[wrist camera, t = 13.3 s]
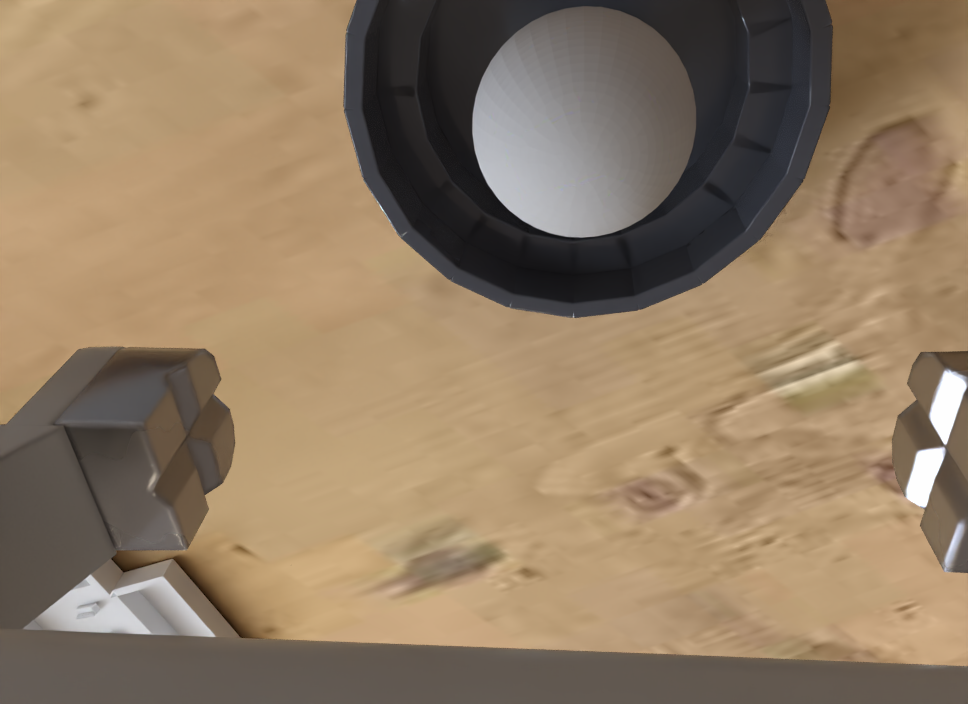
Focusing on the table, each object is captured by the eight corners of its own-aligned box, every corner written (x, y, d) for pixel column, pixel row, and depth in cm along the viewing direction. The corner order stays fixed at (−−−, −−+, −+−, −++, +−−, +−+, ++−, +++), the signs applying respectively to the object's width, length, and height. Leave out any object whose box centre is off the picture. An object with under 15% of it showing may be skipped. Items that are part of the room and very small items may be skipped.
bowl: (324, 156, 31) (284, 205, 26) (481, -270, 23) (460, -298, 19) (648, 310, 33) (659, 378, 28) (884, -36, 25) (946, -13, 21)
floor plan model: (370, 663, 46) (362, 693, 45) (47, 733, 54) (30, 761, 52) (184, 420, 38) (166, 446, 36) (-168, 542, 45) (-197, 568, 44)
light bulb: (702, 82, 27) (759, 186, 19) (561, 183, 30) (556, 314, 21) (603, -70, 25) (617, -31, 17) (460, 51, 27) (408, 139, 19)
